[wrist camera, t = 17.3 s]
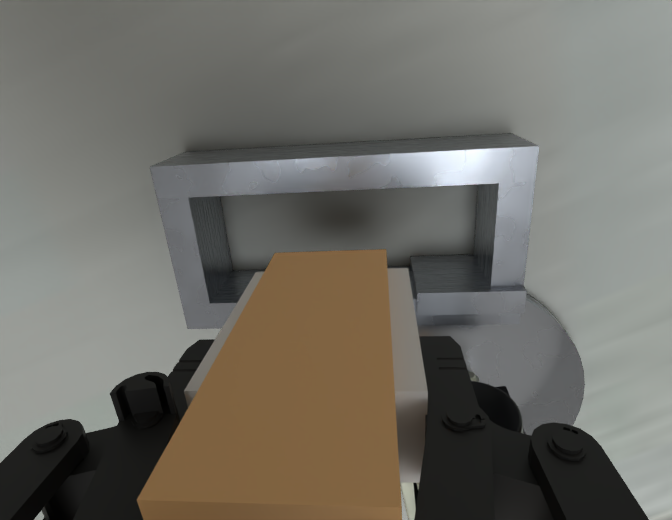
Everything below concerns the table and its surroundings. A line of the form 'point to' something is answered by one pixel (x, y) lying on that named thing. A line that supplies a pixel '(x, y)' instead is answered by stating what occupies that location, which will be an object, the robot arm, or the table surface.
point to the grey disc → (503, 338)
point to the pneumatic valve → (498, 411)
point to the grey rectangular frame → (337, 175)
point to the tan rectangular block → (293, 404)
